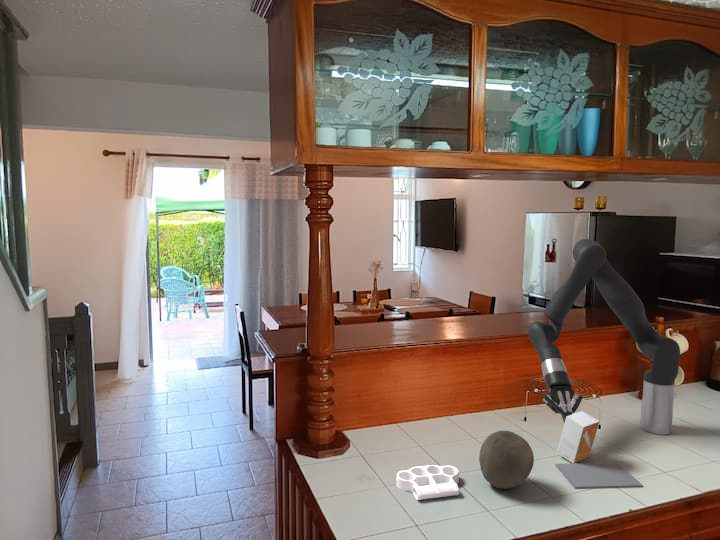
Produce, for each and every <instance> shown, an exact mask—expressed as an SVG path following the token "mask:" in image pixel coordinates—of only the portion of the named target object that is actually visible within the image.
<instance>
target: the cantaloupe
mask: <svg viewBox="0 0 720 540" xmlns="http://www.w3.org/2000/svg"><path fill="white" fill-rule="evenodd" d="M533 452H534V451H533V449H532V448H531V446H530V444H529V442H528V441H527V440H526V439H525V438H524V437H523V436H521V435H520V434H516V433H515V432H513V431H509V430H498V431H495V432H493V433H491V434H489V435H488V436H487V437H486V438H485V440H484V441H483V443H482V444H481V446H480V450H479V456H478V459H479V460H478V461H479V466H480V470H481V474H482V475H483V478H484V479H485V480H486V482H488V483H489V484H490V485H492V486H493V487H495V488H497V489H502V490H503V489H504V490H505V489H506V490H507V489H511V488H515V487H517V486H519V485H520V484H521V483H523V482H524V481H525V480H526V479H527V478H528V477H529V476H530V475H531V472H532V469H533V467H534V461H535V460H534V459H535V458H534V453H533Z"/></svg>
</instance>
